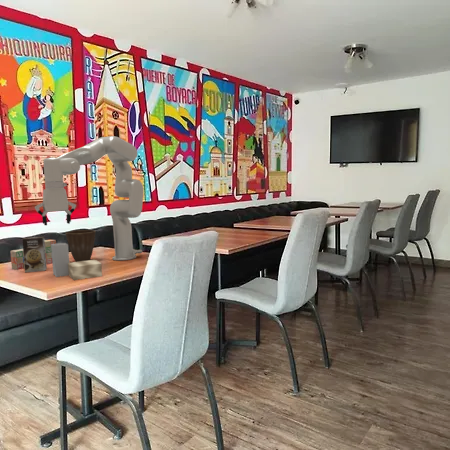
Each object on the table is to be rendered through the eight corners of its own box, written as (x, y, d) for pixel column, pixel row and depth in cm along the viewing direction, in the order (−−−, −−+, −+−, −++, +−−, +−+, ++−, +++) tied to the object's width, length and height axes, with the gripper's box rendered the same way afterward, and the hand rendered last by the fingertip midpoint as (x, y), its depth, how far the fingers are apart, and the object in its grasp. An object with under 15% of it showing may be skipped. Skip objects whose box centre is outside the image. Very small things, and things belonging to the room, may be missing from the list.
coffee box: (24, 272, 198) (21, 239, 196) (27, 270, 204) (24, 237, 202) (45, 270, 200) (42, 237, 198) (47, 268, 206) (44, 236, 205)
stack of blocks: (17, 270, 205) (15, 245, 204) (11, 269, 209) (9, 244, 208) (58, 262, 222) (56, 239, 220) (51, 261, 226) (50, 239, 224)
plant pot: (101, 258, 228) (99, 229, 226) (90, 263, 213) (88, 232, 211) (75, 259, 229) (73, 230, 228) (62, 264, 215) (60, 233, 213)
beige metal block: (96, 272, 193) (95, 259, 193) (102, 276, 183) (101, 263, 182) (68, 276, 187) (67, 262, 187) (73, 281, 177) (72, 267, 176)
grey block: (67, 272, 194) (64, 242, 192) (70, 275, 188) (67, 244, 186) (53, 274, 191) (50, 244, 189) (56, 277, 185) (53, 245, 183)
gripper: (72, 185, 193) (75, 222, 194) (32, 186, 184) (35, 225, 185) (76, 185, 186) (79, 223, 188) (34, 186, 177) (37, 226, 179)
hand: (57, 224), depth 187 cm, fingers open, 9 cm apart
